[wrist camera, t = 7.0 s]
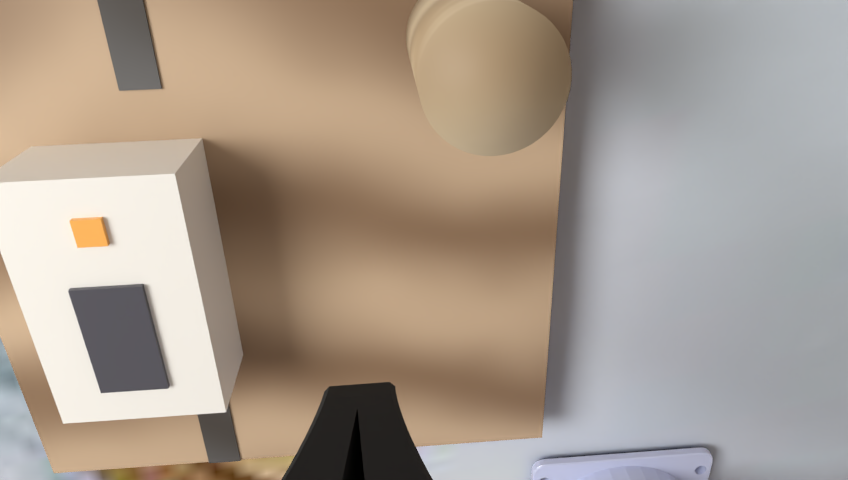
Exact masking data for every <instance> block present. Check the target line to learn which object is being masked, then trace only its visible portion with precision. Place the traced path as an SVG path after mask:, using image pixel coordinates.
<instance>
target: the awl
mask: <svg viewBox="0 0 848 480" xmlns="http://www.w3.org/2000/svg"><path fill="white" fill-rule="evenodd" d="M406 46H407V51H408V55H409V59H410V63H411V66H412V70H413V74H414V78H415V82H416V86H417V90H418V94H419V98H420V101H421V105H422V108H423V111H424V113H425V116H426V118H427V119H428V121H429V123H430V125H431V126H432V127H433V129H434V130H435V131H436V132H437V133H438V134H439V135H440V136H441V138H443V139H444V140H445V141H446V142H448V143H449V144H451V145H452V146H454V147H456V148H457V149H460V150H462V151H464V152H467V153H471V154H474V155H481V156H499V155H506V154H510V153H513V152H516V151H519V150H521V149H524V148H525V147H527V146H529V145H531V144H533V143H534V142H535V141H537V140H538V139H540V138H541V137H542V136H543V135H544V134H545V133H547V131H548V130H549V129H550V128H551V127H552V126H553V125H554V123H555V122H556V121H557V119H558V118H559V116H560V114H561V112H562V111H563V109H564V106H565V104H566V102H567V99H568V95H569V92H570V86H571V79H572V68H571V60H570V56H569V52H568V48H567V46H566V44H565V41H564V39H563V37H562V36H561V34H560V32H559V31H558V30H557V28H556V27H555V26H554V25H553V23H552V22H551V21H549V20H548V19H547V18H546V17H545V16H544V15H542V14H541V13H539V12H538V11H536V10H535V9H533V8H531V7H529V6H528V5H526V4H524V3H522V2H521V1H519V0H418V1H417V2H416V4H415V6H414V7H413V9H412V11H411V14H410V16H409V19H408V23H407V28H406Z"/></svg>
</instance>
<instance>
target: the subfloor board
mask: <svg viewBox="0 0 848 480" xmlns="http://www.w3.org/2000/svg"><path fill="white" fill-rule="evenodd" d="M417 1H418V0H0V167H1V166H3V165H4V164H6V163H7V162H9V161H10V160H12V159H13V158H15V157H16V156H18V155H19V154H21V153H22V152H24V151H25V150H27V149H28V148H30V147H31V146H52V145H73V144H93V143H114V142H135V141H155V140H176V139H197V138H202V140H203V145H204V151H205V156H206V161H207V166H208V172H209V177H210V182H211V187H212V193H213V198H214V203H215V208H216V214H217V219H218V224H219V230H220V235H221V240H222V245H223V251H224V256H225V261H226V266H227V272H228V277H229V282H230V288H231V293H232V298H233V303H234V309H235V314H236V319H237V324H238V330H239V335H240V340H241V345H242V351H243V357H242V361H241V364H240V367H239V371H238V374H237V377H236V381H235V384H234V388H233V391H232V394H231V398H230V401H229V404H228V408H227V411H226V412H224V413H210V414H196V415H181V416H167V417H153V418H138V419H124V420H109V421H95V422H81V423H66V424H63V422H62V419H61V416H60V413H59V411H58V408H57V405H56V403H55V400H54V397H53V394H52V392H51V389H50V386H49V383H48V381H47V378H46V375H45V372H44V370H43V367H42V364H41V362H40V359H39V356H38V353H37V351H36V348H35V345H34V342H33V340H32V337H31V334H30V331H29V329H28V326H27V323H26V321H25V318H24V315H23V312H22V310H21V307H20V304H19V301H18V299H17V296H16V293H15V290H14V288H13V285H12V282H11V280H10V277H9V274H8V271H7V269H6V266H5V263H4V260H3V258H2V255H1V252H0V337H1V339H2V342H3V345H4V347H5V350H6V352H7V355H8V357H9V360H10V362H11V365H12V367H13V370H14V373H15V375H16V378H17V380H18V383H19V385H20V388H21V390H22V393H23V395H24V398H25V401H26V403H27V406H28V408H29V411H30V413H31V416H32V418H33V421H34V424H35V426H36V429H37V431H38V434H39V436H40V439H41V441H42V444H43V446H44V449H45V452H46V454H47V457H48V459H49V462H50V464H51V467H52V469H53V472H54V473H63V472H76V471H90V470H103V469H117V468H131V467H144V466H158V465H172V464H185V463H199V462H209V463H217V462H231V461H240V460H241V459H253V458H267V457H281V456H294V455H296V453H297V451H298V450H299V448H300V446H301V444H302V442H303V440H304V438H305V436H306V434H307V432H308V430H309V428H310V426H311V424H312V422H313V419H314V417H315V415H316V413H317V410H318V408H319V405H320V403H321V400H322V397H323V394H324V391H325V390H326V389H327V388H328V387H329V386H340V385H354V384H367V383H381V382H391V383H392V384H393V385H394V386H395V388H396V395H397V400H398V403H399V407H400V410H401V413H402V416H403V419H404V421H405V424H406V427H407V429H408V431H409V434H410V436H411V438H412V440H413V443H414V445H415V447H417V446H431V445H444V444H458V443H472V442H485V441H499V440H512V439H526V438H540V437H542V430H543V416H544V402H545V388H546V374H547V360H548V346H549V332H550V318H551V304H552V290H553V275H554V261H555V247H556V233H557V219H558V205H559V191H560V177H561V163H562V149H563V135H564V121H565V107H566V104H565V106H564V109H563V111H562V112H561V114H560V116H559V118H558V119H557V121H556V122H555V123H554V125H553V126H552V127H551V128H550V129H549V130H548V131H547V133H545V134H544V135H543V136H542V137H541V138H540V139H538V140H537V141H535V142H534V143H533V144H531V145H529V146H527V147H525V148H524V149H521V150H519V151H516V152H513V153H510V154H506V155H499V156H481V155H474V154H471V153H467V152H464V151H462V150H460V149H457V148H456V147H454V146H452V145H451V144H449V143H448V142H446V141H445V140H444V139H443V138H441V136H440V135H439V134H438V133H437V132H436V131H435V130H434V129H433V127H432V126H431V125H430V123H429V121H428V119H427V118H426V116H425V113H424V111H423V108H422V105H421V101H420V98H419V94H418V90H417V86H416V82H415V78H414V74H413V70H412V66H411V63H410V59H409V55H408V51H407V46H406V28H407V23H408V19H409V16H410V14H411V11H412V9H413V7H414V6H415V4H416V2H417ZM519 1H521V2H522V3H524V4H526V5H528V6H529V7H531V8H533V9H535V10H536V11H538V12H539V13H541V14H542V15H544V16H545V17H546V18H547V19H548V20H549V21H551V22H552V23H553V25H554V26H555V27H556V28H557V30H558V31H559V32H560V34H561V36H562V37H563V39H564V41H565V44H566V46H567V48H568V52H569V51H570V37H571V23H572V9H573V0H519Z"/></svg>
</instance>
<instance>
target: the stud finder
mask: <svg viewBox="0 0 848 480" xmlns="http://www.w3.org/2000/svg"><path fill="white" fill-rule="evenodd" d="M0 252H1V255H2V258H3V260H4V263H5V266H6V269H7V271H8V274H9V277H10V280H11V282H12V285H13V288H14V290H15V293H16V296H17V299H18V301H19V304H20V307H21V310H22V312H23V315H24V318H25V321H26V323H27V326H28V329H29V331H30V334H31V337H32V340H33V342H34V345H35V348H36V351H37V353H38V356H39V359H40V362H41V364H42V367H43V370H44V372H45V375H46V378H47V381H48V383H49V386H50V389H51V392H52V394H53V397H54V400H55V403H56V405H57V408H58V411H59V413H60V416H61V419H62V422H63V424H66V423H81V422H95V421H109V420H124V419H138V418H153V417H167V416H181V415H196V414H210V413H224V412H226V411H227V408H228V404H229V401H230V398H231V394H232V391H233V388H234V384H235V381H236V377H237V374H238V371H239V367H240V364H241V361H242V357H243V351H242V345H241V340H240V335H239V330H238V324H237V319H236V314H235V309H234V303H233V298H232V293H231V288H230V282H229V277H228V272H227V266H226V261H225V256H224V251H223V245H222V240H221V235H220V230H219V224H218V219H217V214H216V208H215V203H214V198H213V193H212V187H211V182H210V177H209V172H208V166H207V161H206V156H205V151H204V145H203V140H202V138H197V139H176V140H155V141H135V142H114V143H93V144H73V145H52V146H31V147H30V148H28V149H27V150H25V151H24V152H22V153H21V154H19V155H18V156H16V157H15V158H13V159H12V160H10V161H9V162H7V163H6V164H4V165H3V166H1V167H0Z"/></svg>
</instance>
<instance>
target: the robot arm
mask: <svg viewBox="0 0 848 480" xmlns="http://www.w3.org/2000/svg"><path fill="white" fill-rule="evenodd" d="M712 462H713V456H712V455H711V453H710V452H709V450H708V449H706V448H701V447H699V448H686V449H673V450H659V451H646V452H633V453H619V454H606V455H593V456H579V457H566V458H553V459H542V460H538V461H537V462H535V463H534V464H533V466H532V470H531V480H541V478H545V479H542V480H708V479H709V475H710V471H711V466H712ZM698 466H699V467H698ZM282 480H433V479H432V478H431V476H430V474H429V472H428V471H427V469H426V467H425V465H424V463H423V461H422V459H421V457H420V455H419V453H418V451H417V449H416V447H415V445H414V443H413V440H412V438H411V436H410V434H409V431H408V429H407V427H406V424H405V421H404V419H403V416H402V413H401V410H400V407H399V403H398V400H397V395H396V388H395V386H394V385H393V384H392V383H391V382H381V383H367V384H354V385H340V386H329V387H328V388H327V389H326V390H325V391H324V394H323V397H322V400H321V403H320V405H319V408H318V410H317V413H316V415H315V417H314V419H313V422H312V424H311V426H310V428H309V430H308V432H307V434H306V436H305V438H304V440H303V442H302V444H301V446H300V448H299V450H298V451H297V453H296V455H295V457H294V459H293V461H292V463H291V465H290V466H289V468H288V470H287V471H286V473H285V475H284V476H283V478H282Z"/></svg>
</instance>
